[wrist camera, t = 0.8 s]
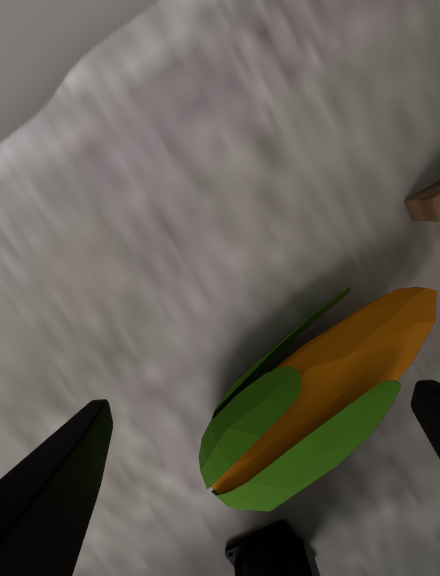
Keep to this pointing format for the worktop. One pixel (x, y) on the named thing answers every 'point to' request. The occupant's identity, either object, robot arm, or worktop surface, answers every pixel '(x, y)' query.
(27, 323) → the worktop surface
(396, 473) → the worktop surface
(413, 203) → the guide bay
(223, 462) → the corn
